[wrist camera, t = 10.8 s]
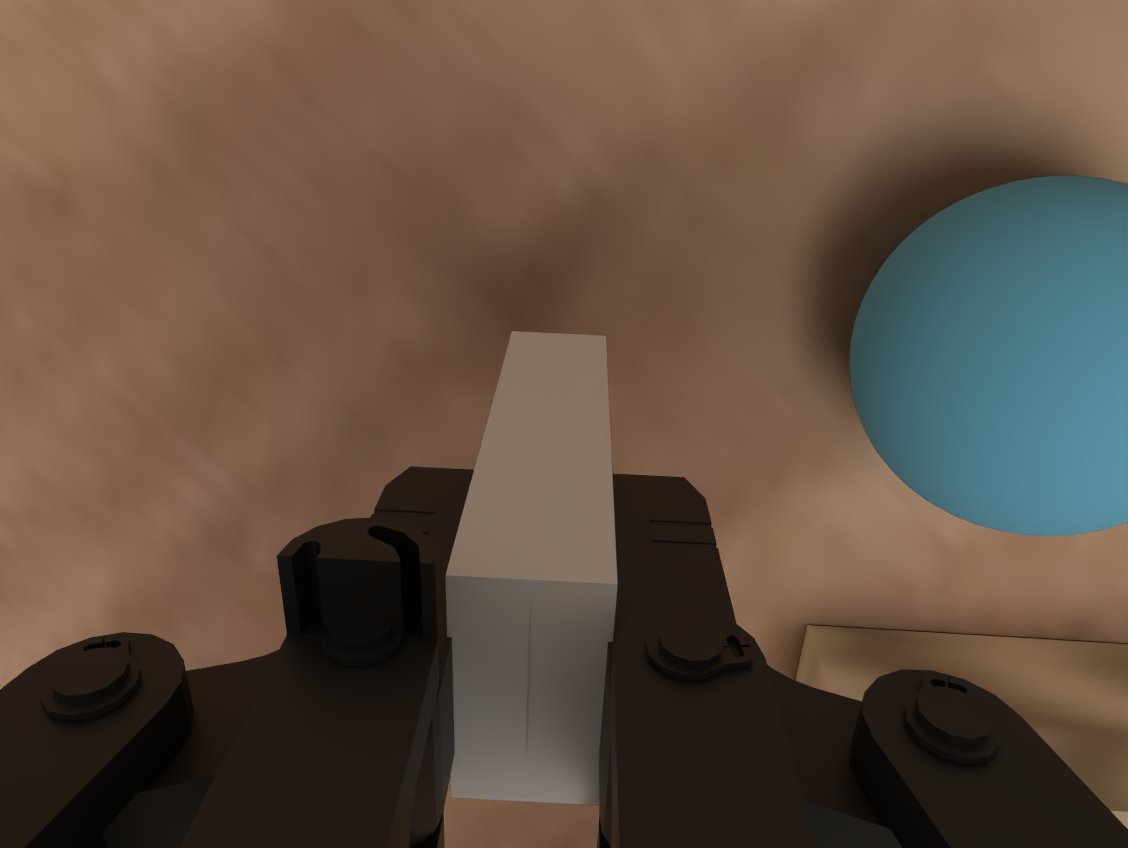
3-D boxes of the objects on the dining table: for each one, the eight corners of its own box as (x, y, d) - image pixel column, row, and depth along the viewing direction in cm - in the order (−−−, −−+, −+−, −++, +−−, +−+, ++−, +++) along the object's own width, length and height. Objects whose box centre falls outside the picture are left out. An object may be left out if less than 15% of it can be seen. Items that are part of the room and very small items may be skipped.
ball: (1275, 634, 12) (1119, 459, 17) (1450, 212, 9) (1205, 160, 15) (842, 582, 13) (822, 434, 18) (900, 198, 11) (858, 155, 16)
